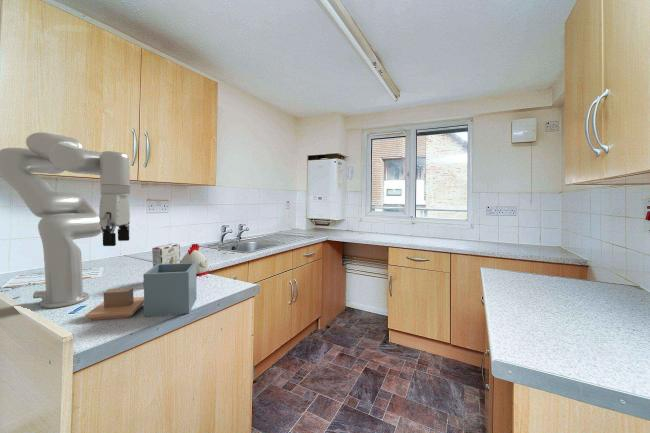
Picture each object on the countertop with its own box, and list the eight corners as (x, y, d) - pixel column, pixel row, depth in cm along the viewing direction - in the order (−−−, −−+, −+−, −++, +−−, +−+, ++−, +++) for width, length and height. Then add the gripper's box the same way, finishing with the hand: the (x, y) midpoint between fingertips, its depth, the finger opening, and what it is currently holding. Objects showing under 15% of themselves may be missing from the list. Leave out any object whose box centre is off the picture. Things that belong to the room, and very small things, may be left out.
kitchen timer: (214, 270, 140) (214, 242, 139) (198, 278, 127) (198, 247, 125) (189, 269, 142) (189, 241, 141) (171, 276, 128) (171, 245, 127)
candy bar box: (171, 277, 127) (171, 243, 126) (181, 278, 126) (180, 243, 125) (152, 284, 116) (151, 247, 115) (162, 285, 115) (161, 248, 114)
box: (144, 317, 86) (143, 274, 85) (157, 301, 98) (157, 264, 97) (189, 313, 89) (188, 272, 88) (196, 298, 102) (196, 262, 101)
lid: (85, 322, 82) (84, 298, 81) (107, 306, 94) (106, 285, 93) (132, 318, 85) (132, 295, 85) (147, 303, 97) (147, 283, 97)
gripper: (114, 190, 94) (116, 239, 95) (85, 190, 77) (87, 248, 78) (139, 191, 96) (140, 238, 97) (116, 190, 79) (117, 247, 81)
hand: (117, 243), depth 88 cm, fingers open, 9 cm apart
